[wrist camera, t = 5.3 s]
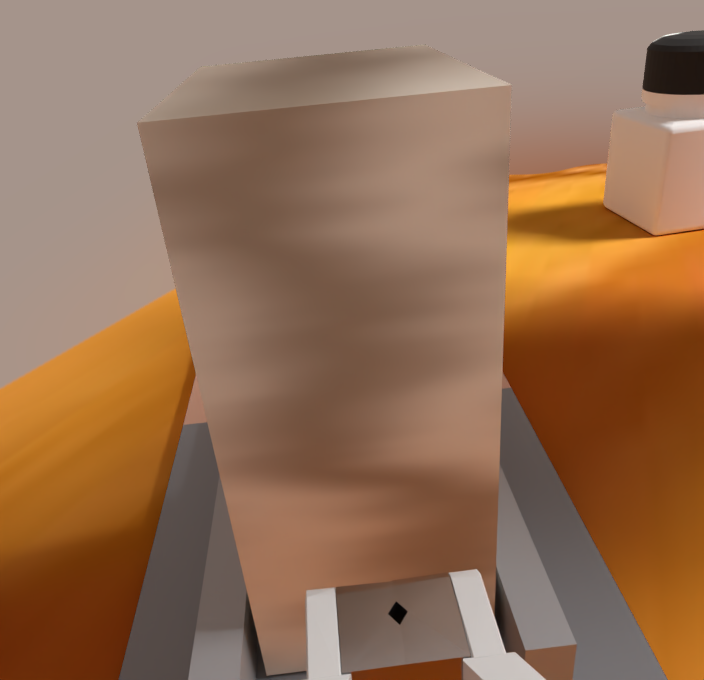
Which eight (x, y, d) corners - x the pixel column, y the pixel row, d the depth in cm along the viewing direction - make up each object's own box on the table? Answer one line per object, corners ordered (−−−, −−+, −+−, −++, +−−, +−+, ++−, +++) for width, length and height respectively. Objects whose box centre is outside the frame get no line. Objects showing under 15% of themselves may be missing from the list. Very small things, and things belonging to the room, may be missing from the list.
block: (436, 455, 24) (424, 44, 17) (493, 647, 17) (512, 85, 10) (274, 474, 24) (200, 67, 17) (266, 675, 17) (137, 122, 10)
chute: (446, 282, 40) (446, 236, 39) (664, 708, 17) (682, 631, 15) (219, 307, 40) (210, 261, 38) (110, 779, 16) (75, 707, 15)
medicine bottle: (751, 223, 45) (794, 29, 39) (653, 237, 44) (682, 42, 38) (687, 195, 51) (716, 24, 45) (600, 207, 50) (618, 35, 44)
